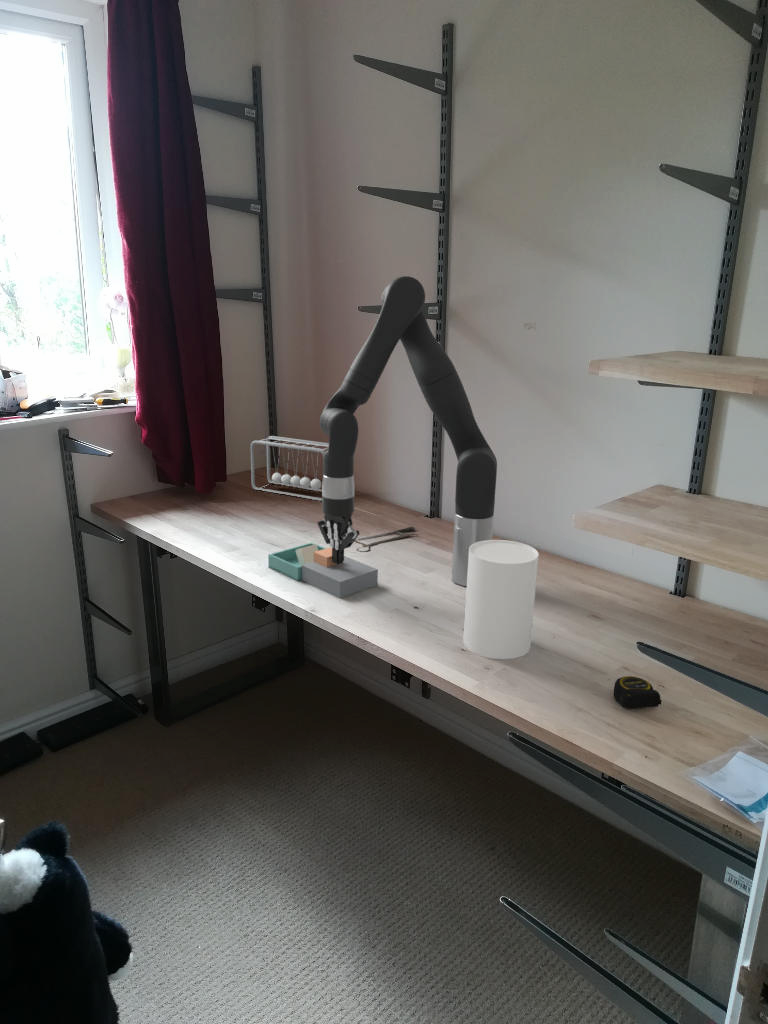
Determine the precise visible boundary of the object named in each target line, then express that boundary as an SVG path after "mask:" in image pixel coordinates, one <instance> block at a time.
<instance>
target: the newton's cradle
mask: <svg viewBox="0 0 768 1024" xmlns="http://www.w3.org/2000/svg"><path fill="white" fill-rule="evenodd" d="M271 440H275V441H271ZM281 441H283V443H281ZM287 443H288V444H287ZM290 443H293V444H290ZM297 444H303V445H297ZM304 444H305V445H304ZM255 445H263V446H266V477H267V478H266V479H267V482H268V483H269V484H270V483H274V484H281V485H286V486H293V487H298V488H303V489H307V490H314V491H321V492H322V481H321V480H320V479H318V478H317V475H318V471H316V472H315V471H313V476H314V479H312V480H311V479H310V478H309V477H307V476H306V473H307V471H308V466H306V469H305V468H304V467H305V466H304V464H302V465H303V466H302V467H303V468H302V469H303V470H305V473H303V476H304V477H302V478H301V477H300V476H298V474H297V473H298V469H295V468H293V471H294V475H293V476H291V475H290V474H288V473H287V471H288V470H289V469H288V468H289V464H287V467H286V466H285V465H286V464H285V462H283V463H284V465H283V466H284V468H286V470H284V473H285V474H283V475H282V474H281V473H279V470H276V471H275V472H274V473H273V474H272V476H271V452H270V451H271V449H270V448H271V447H277V448H279V450H278V455H280V450H282V452H284V451H283V450H284V449H291V450H297V455H299V452H301V453H303V451H306V452H310V453H311V455H313V453H321V455H322V457H323V458H324V453H325V452H326V451H327V450H328V448H329V442H320V441H315V440H314V441H313V440H307V439H299V438H291V437H285V436H275V435H270V436H268V437H267V438H263V439H260V440H253V441H252V442H251V443H250V472H251V473H250V474H251V475H250V476H251V477H250V479H251V487H252V489H253V490H254V489H255V490H254V491H256V490H262V491H267V492H273V493H279V494H286V495H291V496H297V497H302V498H307V499H306V500H308V499H312V500H311V501H314V500H318V501H317V502H320V501H322V497H316V496H309V495H303V494H298V493H297V494H296V493H291V492H285V491H280V490H273V489H269V488H266V487H265V486H267V485H268V484H267V485H263V486H261V487H258V486H256V481H255V480H256V478H255V477H256V476H255V475H256V474H255ZM310 445H311V446H312V447H310ZM320 447H326V448H320ZM272 451H273V454H275V451H274V448H272ZM287 455H288V456H287V460H289V458H290V457H289V456H290V453H288V454H287ZM291 455H292V457H294V453H293V452H291ZM284 456H285V455H284V454H282V457H283V458H282V459H283V460H285V457H284ZM308 458H309V455H307V459H306V462H308ZM323 458H322V459H323ZM273 459H274V460H273V461H276V458H275V456H273ZM296 460H297V461H296V466H298V462H299V459H296ZM301 460H302V462H304V459H303V456H301ZM316 460H317V461H316V465H318V463H319V456H317V459H316ZM311 461H312V462H314V459H313V457H311ZM277 462H278V464H277V465H276V463H274V467H275V469H277V466H279V462H280V459H278V461H277ZM292 463H293V465H295V461H294V460H292ZM314 466H315V465H314V464H312V467H313V470H315V467H314ZM315 474H316V475H315ZM262 487H264V488H262ZM267 487H268V486H267ZM320 488H321V489H320ZM307 490H306V491H307ZM267 492H266V493H267ZM273 493H272V494H273ZM279 494H278V495H279ZM302 498H301V499H302Z"/></svg>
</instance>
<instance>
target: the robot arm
mask: <svg viewBox="0 0 768 1024" xmlns="http://www.w3.org/2000/svg"><path fill="white" fill-rule="evenodd" d="M380 300H381V301H380V303H381V310H380V313H379V316H378V318H377V321H376V323H375V324H374V327H373V329H372V330H371V333H370V334H369V336H368V338H367V339H366V341H365V343H364V344H363V345H362V347H361V349H360V350H359V352H358V353H357V354H356V357H355V358H354V360H353V361H352V364H351V365H350V368H349V369H348V371H347V373H346V375H345V377H344V379H343V381H342V383H341V386H340V387H339V388H338V390H336V392H335V393H334V394H333V396H332V397H331V398H330V399H329V401H328V402H327V404H326V405H325V407H324V409H323V410H322V412H321V415H320V418H319V426H320V429H321V431H322V432H323V433H324V434H325V435H326V436H327V437H328V443H329V448H328V447H327V448H328V449H326V450H325V453H324V458H322V459H323V461H322V462H323V464H322V466H323V467H322V469H323V470H322V471H323V475H322V481H321V490H322V493H321V496H322V497H321V498H322V502H321V504H322V505H321V511H322V513H323V514H324V516H323V519H321V520H319V521H317V526H318V528H319V530H320V532H321V535H322V537H323V539H324V542H325V544H327V545H330V547H329V548H332V560H333V563H336V564H340V563H343V561H344V556H345V550H346V549H348V548H350V547H352V545H353V544H354V543H355V542H354V541H355V540H356V541H357V539H358V537H359V536H360V531H359V530H358V529H357V530H355V528H354V527H353V520H352V516H353V514H354V513H355V479H354V470H355V469H354V466H355V465H354V463H355V462H354V457H355V452H356V447H357V444H358V439H359V438H358V437H359V423H358V419H357V417H356V416H355V415H354V414H355V412H357V410H358V408H359V407H360V406H363V405H365V404H366V403H367V402H368V401H369V399H370V398H371V395H372V394H373V392H374V390H375V388H376V386H377V384H378V383H379V381H380V378H381V376H382V375H383V373H384V370H385V368H386V366H387V365H388V363H389V359H390V358H391V356H392V354H393V352H394V350H395V348H396V346H397V344H398V342H399V341H400V342H401V343H402V346H403V348H404V350H405V353H406V356H407V358H408V361H409V364H410V367H411V369H412V372H413V374H414V377H415V378H416V381H417V384H418V386H419V388H420V391H421V393H422V395H423V398H424V399H425V401H426V403H427V406H428V407H429V409H430V410H431V412H432V414H433V415H434V417H435V418H436V420H437V421H438V423H440V425H441V426H442V427H443V429H444V431H445V432H446V434H447V435H448V437H449V440H450V443H451V445H452V448H453V449H454V452H455V456H456V458H457V459H456V460H457V462H458V463H457V466H456V477H455V498H454V501H455V502H454V503H455V504H454V507H455V511H454V526H453V527H454V528H453V546H452V564H451V567H452V568H451V581H452V582H453V583H455V584H457V585H459V586H462V587H467V573H468V556H469V547H470V546H471V545H472V544H474V543H476V542H480V541H485V540H493V530H494V529H493V528H494V527H493V526H494V515H495V502H496V488H497V487H496V486H497V474H498V473H497V471H498V461H497V458H496V455H495V453H494V452H493V450H492V448H491V447H490V445H489V444H488V442H487V439H486V438H485V436H484V435H483V433H482V431H481V430H480V427H479V426H478V423H477V422H476V419H475V418H476V417H475V415H474V412H473V410H472V407H471V404H470V401H469V398H468V396H467V395H468V394H467V393H466V391H465V390H466V389H465V388H464V385H463V382H462V380H461V378H460V376H459V374H458V371H457V369H456V367H455V366H454V363H453V361H452V360H451V359H450V357H449V356H448V354H447V353H446V351H445V350H444V348H443V347H442V346H441V344H440V343H439V342H438V340H437V339H436V337H435V336H434V334H433V332H432V330H431V328H430V326H429V324H428V322H427V318H426V315H425V313H424V309H423V308H424V306H425V302H426V292H425V289H424V286H423V284H422V283H421V281H419V280H418V279H417V278H415V277H413V276H409V275H407V276H406V275H402V276H399V277H397V278H394V279H393V280H392V281H390V283H388V284H387V285H386V286H385V288H384V290H383V291H382V294H381V299H380Z"/></svg>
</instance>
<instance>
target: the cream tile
mask: <svg viewBox="0 0 768 1024" xmlns="http://www.w3.org/2000/svg"><path fill="white" fill-rule="evenodd" d="M317 545H318V544H317V543H314V545H310V546H307V547H303V548H300V549H297V550H295V551H296V554H297V558H298V561H299V564H300V566H301V565H304V564H308V563H311V562H314V552H316V551H318V548H317Z"/></svg>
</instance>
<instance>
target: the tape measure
mask: <svg viewBox="0 0 768 1024" xmlns="http://www.w3.org/2000/svg"><path fill="white" fill-rule="evenodd" d="M612 695H613V699H614V700H615V702H617V703H618V704H619V705H620V706H621V707H623V708H624V709H625V710H626V709H627V710H633V709H635V710H636V709H645V708H656V707H657V708H658V707H659V706H661V705H662V702H663V701H662V700H661V694H660V693H659V692H658V690H656V689H654V687H653V685H652V684H651V683H650V682H649V681H647V680H646V679H644V678H641V677H637V676H632V675H628V676H622V677H619V678H617V679H616V680H615V682H614V687H613V694H612Z"/></svg>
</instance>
